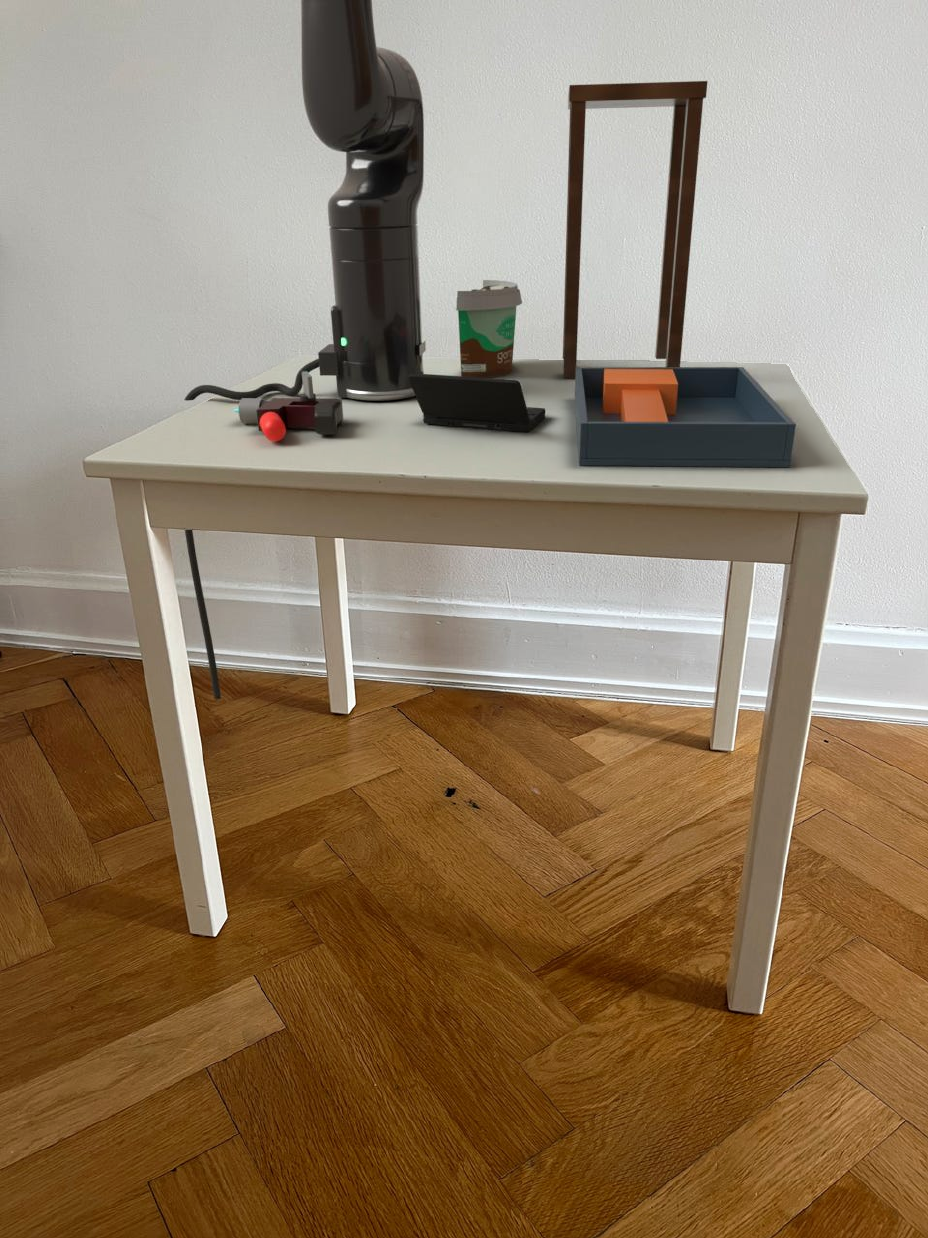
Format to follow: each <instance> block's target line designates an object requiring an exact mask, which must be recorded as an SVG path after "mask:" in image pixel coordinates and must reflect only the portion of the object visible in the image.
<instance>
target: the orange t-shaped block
mask: <svg viewBox="0 0 928 1238" xmlns="http://www.w3.org/2000/svg"><path fill="white" fill-rule="evenodd" d="M677 393H678V382H677V380H676V377H675V374H674V371H673V369H604V384H603V414H621V421H622V422H668V419H667V415H675V414H676V405H677Z"/></svg>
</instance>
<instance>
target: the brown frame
mask: <svg viewBox="0 0 928 1238" xmlns="http://www.w3.org/2000/svg"><path fill="white" fill-rule="evenodd" d="M568 87H569V88H568V94H567V110H569V126H568V128H569V129H568V130H569V131H568V160H567V161H568V163H567V168H568V169H567V194H566V196H567V199H566V228H565V230H566V232H565V233H566V234H565V263H564V264H565V268H564V295H563V297H564V301H563V331H562V332H563V334H562V335H563V336H562V337H563V338H562V360H563V365H562V366H563V370H562V379H565V380H566V379H567V380H568V379H571V380H572V379H574V380H575V376H576V367H577V362H578V359H577V358H578V333H579V331H578V330H579V307H580V306H579V304H580V277H581V250H582V225H583V224H582V223H583V222H582V221H583V220H582V219H583V218H582V217H583V194H584V170H585V169H584V166H585V165H584V164H585V160H584V159H585V141H586V140H585V139H586V111H587V110H590V109H591V110H595V109H597V110H598V109H626V108H664V107H665V108H667V107H668V108H669V107H673V109H672V110H673V111H672V122H671V123H672V124H671V138H670V150H669V151H670V152H669V162H668V163H669V165H668V177H667V191H666V204H665V219H664V230H663V231H664V233H663V243H662V244H663V245H662V257H661V258H662V260H661V270H660V271H661V273H660V286H659V297H658V298H659V300H658V313H657V324H656V325H657V326H656V327H657V328H656V338H655V353H654V357H655V359H656V360H665V367H681V360H682V347H683V336H684V325H685V315H686V314H685V313H686V304H687V303H686V301H687V292H688V278H689V267H690V256H691V245H692V234H693V233H692V232H693V221H694V211H695V198H696V187H697V175H698V165H699V152H700V141H701V128H702V120H703V119H702V118H703V107H704V106H703V105H704V99H706V98H707V94H708V93H707V92H708V80H693V81H691V80H687V81H659V82H658V81H657V82H655V81H654V82H623V83H622V82H621V83H591V84H589V83H588V84H569V86H568Z"/></svg>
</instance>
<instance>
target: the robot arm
mask: <svg viewBox="0 0 928 1238" xmlns="http://www.w3.org/2000/svg"><path fill="white" fill-rule="evenodd" d="M300 19H301V23H300V24H301V25H300V26H301V28H300V29H301V31H300V35H301V39H300V40H301V42H300V43H301V44H300V46H301V48H300V49H301V87H302V99H303V104H304V109H305V113H306V117H307V120H308V123H309V125H310V127H311V129H312V131H313V133H314V134H315V136H316V137H317V138H318V140H319V141H320V142H321V143H322V144H323V145H325V146H326V147H327V148H329V149H331V150H333V151H335V152H339V153H345V174H344V178H343V181H342V182H341V185H340V187H339V188H338V189H337V190H336V191H335V192H334V193H332V195H331V196H330V197H329V199H328V201H327V220H328V226H329V231H328V232H329V241H330V242H329V243H330V252H331V253H330V254H331V267H332V281H333V290H334V291H333V292H334V293H333V294H334V305H332V306H331V308H330V319H331V320H330V321H331V332H332V333H331V334H332V343H329V344H327V345H326V346H325V347H323V348H322V349H320V350H319V351H318V352H317V355H318V358H316V359H314V360H312V361H310V362H308V363H307V364H305V365H304V366H303V367H301V368H300V369H299V370H298V372H297V374H296V376H295V381H294V385H293V386H292V387H289V386H287V385H286V384H283V383H278V382H273V383H272V382H271V383H267V384H262V385H261V386H259V387H258V388H256V389H254V390H249V391H236V390H231V389H227V388H224V387H222V386H221V387H220V386H217V385H213V384H201V385H199V386H196V387H194V388H193V389H191V390H190V391H189V392H188V393H187V395H186V396H185V398H184V401H194V400H196V398H197V397H199V396H201V395H203V394H213V395H216V396H220V397H222V398H223V397H224V398H225V399H226V398H227V399H231V400H235V401H240V400H241V399H242V398H261V397H262V396H264V395H265V394H267V393H271V392H280V393H282V394H283V395H286V396H289V397H294V396H296V395H298V394H299V393H300V392H301V390H302V389H303V381H302V372H305V371H307V372H308V373H309V374H310V373H311V372H312V371H314V370H316V369H318V368H319V375H320V376H327V377H332V376H333V377H334V376H335V380H336V392H337V398H346V399H347V398H348V399H352V400H359V401H371V402H372V401H373V402H374V401H377V402H378V401H379V402H380V401H396V400H403V399H408V398H413V397H416V396H415V393H414V391H413V389H412V386H411V384H410V381H409V375H410V374H412V373H416V374H425V371H424V357H423V354H424V353H425V352H426V351H427V349H426V346H427V345H426V340H424V341H423V329H422V308H421V307H422V305H421V303H422V302H421V277H420V251H419V250H420V249H419V228H418V227H419V226H418V208H419V205H420V201H421V199H422V194H423V191H424V190H423V189H424V179H425V121H424V120H425V113H424V101H423V95H422V90H421V85H420V82H419V79H418V77H417V73H416V72H415V69H414V68H413V66H412V65H411V64H410V62H409V61H408V60H407V59H406V58H405V57H404V56H403V55H401V54H400V53H398V52H396V51H393V50H391V49H387V48H384V47H379V46H377V42H376V33H375V25H374V24H375V23H374V12H373V0H300ZM193 531H194V530H193V529H192V530H185V529H184V534H185V540H186V548H187V553H188V559H189V565H190V571H191V577H192V583H193V587H194V592H195V597H196V603H197V609H198V613H199V617H200V623H201V628H202V629H201V630H202V634H203V638H204V639H203V640H204V644H205V650H206V655H207V661H208V666H209V673H210V679H211V685H212V686H211V687H212V692H213V699H214V700H217V701H218V700H220V699H221V698H222V695H221V687H220V681H219V675H218V674H219V673H218V668H217V661H216V656H215V650H214V644H213V638H212V633H211V628H210V623H209V617H208V612H207V608H206V602H205V597H204V591H203V587H202V581H201V575H200V570H199V564H198V558H197V552H196V545H195V539H194V538H195V537H194V532H193Z"/></svg>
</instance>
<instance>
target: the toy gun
mask: <svg viewBox="0 0 928 1238" xmlns="http://www.w3.org/2000/svg"><path fill="white" fill-rule="evenodd" d="M302 381H303V385H302V389H303V393H300V394H299V397H273V398H271V399H270V400H266V399H264V398H262V397H258V398H242V399H241V400H239V402H238V408H236V409H233V412H235V413H238V417H239V420H240V422H241V423H242V424H244V425H245V424H247V425H251V424H254V425H258V431H259V432H262V433H263V435H264V437H265V438H266V439H267V440H269V441H271V442H279V441H281V440H283V438H285V436H286V433H287V428H288V429H289V428H291V429H293V428H294V429H315V430H314V431H315V433H316V434H317V435H325V436H326V435H328V436H329V435H331V436H333V435H336V434H337V433H338V425H339V424H342V423H343V422H344V410H343V409H344V408H343V400H342V399H341V398H322V397H321V398H317V395H316V393H315V392H314V385H313V376H312V375H311V374H310V372H309V373H308V372H307V371H305V372H302Z"/></svg>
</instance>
